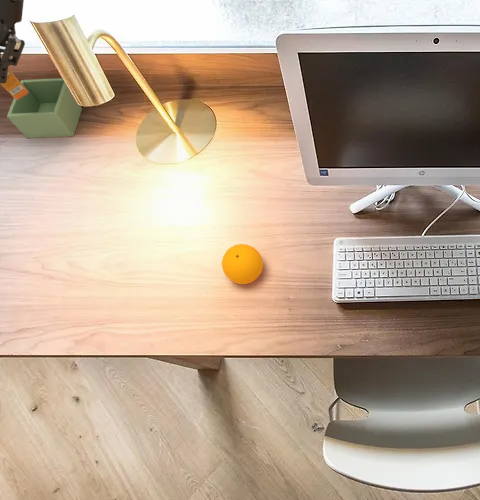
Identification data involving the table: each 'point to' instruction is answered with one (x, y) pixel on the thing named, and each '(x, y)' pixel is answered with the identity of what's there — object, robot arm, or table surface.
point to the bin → (45, 109)
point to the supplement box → (14, 86)
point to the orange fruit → (242, 263)
